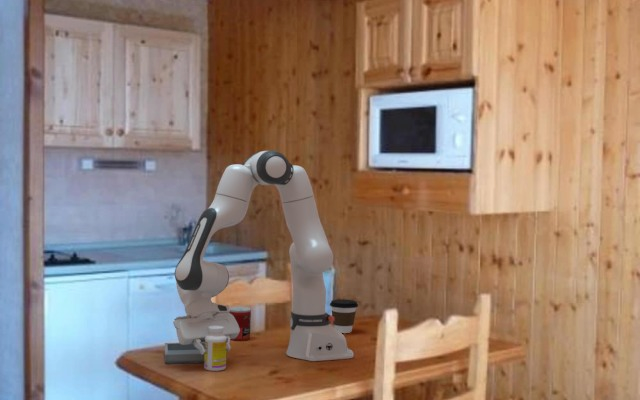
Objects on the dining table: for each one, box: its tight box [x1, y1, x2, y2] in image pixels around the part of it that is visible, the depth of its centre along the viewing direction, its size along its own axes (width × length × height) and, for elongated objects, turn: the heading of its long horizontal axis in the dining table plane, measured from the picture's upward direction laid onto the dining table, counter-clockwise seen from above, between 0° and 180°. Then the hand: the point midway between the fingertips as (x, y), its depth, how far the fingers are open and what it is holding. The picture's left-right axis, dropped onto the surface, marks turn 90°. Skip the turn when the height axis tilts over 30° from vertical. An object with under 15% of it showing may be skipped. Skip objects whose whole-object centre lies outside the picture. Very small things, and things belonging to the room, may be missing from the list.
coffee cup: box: [329, 298, 359, 334], centre depth 287 cm, size 11×11×12 cm
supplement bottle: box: [203, 326, 227, 372], centre depth 228 cm, size 7×7×13 cm
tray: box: [164, 342, 205, 365], centre depth 241 cm, size 18×16×3 cm
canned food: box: [229, 306, 252, 342], centre depth 270 cm, size 8×8×11 cm
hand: (216, 351), depth 227 cm, fingers closed on supplement bottle, 7 cm apart
